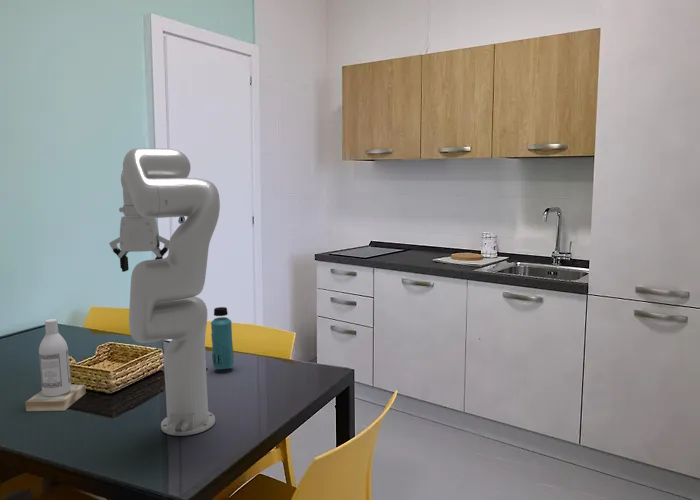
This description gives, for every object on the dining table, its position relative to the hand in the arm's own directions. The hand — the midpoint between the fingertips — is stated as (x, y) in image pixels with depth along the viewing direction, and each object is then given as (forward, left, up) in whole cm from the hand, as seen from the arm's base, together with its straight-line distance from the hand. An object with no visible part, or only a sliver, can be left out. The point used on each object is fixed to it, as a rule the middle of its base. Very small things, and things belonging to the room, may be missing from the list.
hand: (142, 270), depth 162 cm
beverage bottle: (+9, -20, -34) cm, 40 cm away
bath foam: (-14, +20, -31) cm, 39 cm away
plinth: (-14, +20, -33) cm, 41 cm away
